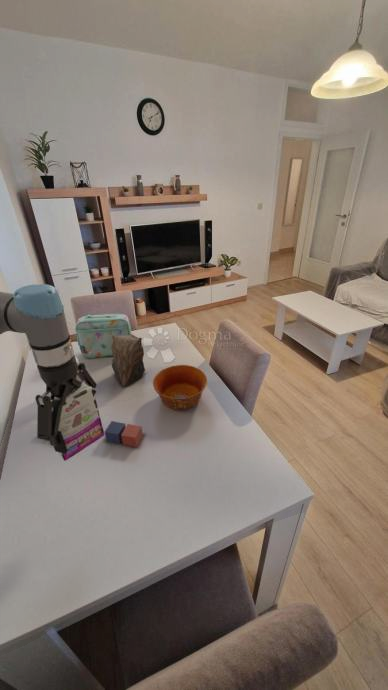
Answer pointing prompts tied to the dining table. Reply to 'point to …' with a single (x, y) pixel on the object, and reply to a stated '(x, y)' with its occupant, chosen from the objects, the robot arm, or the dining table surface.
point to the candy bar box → (79, 420)
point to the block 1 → (114, 432)
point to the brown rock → (127, 358)
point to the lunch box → (100, 333)
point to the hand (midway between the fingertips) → (77, 431)
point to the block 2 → (132, 435)
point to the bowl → (180, 385)
